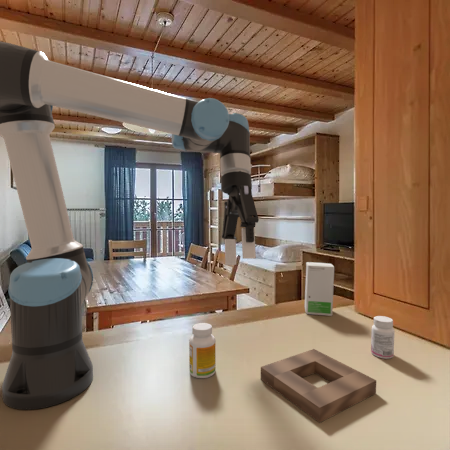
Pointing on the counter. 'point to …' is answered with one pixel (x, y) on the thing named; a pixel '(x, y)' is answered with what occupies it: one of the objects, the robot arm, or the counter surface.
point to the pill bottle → (382, 337)
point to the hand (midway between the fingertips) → (239, 262)
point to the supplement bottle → (202, 351)
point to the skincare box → (319, 288)
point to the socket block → (323, 396)
